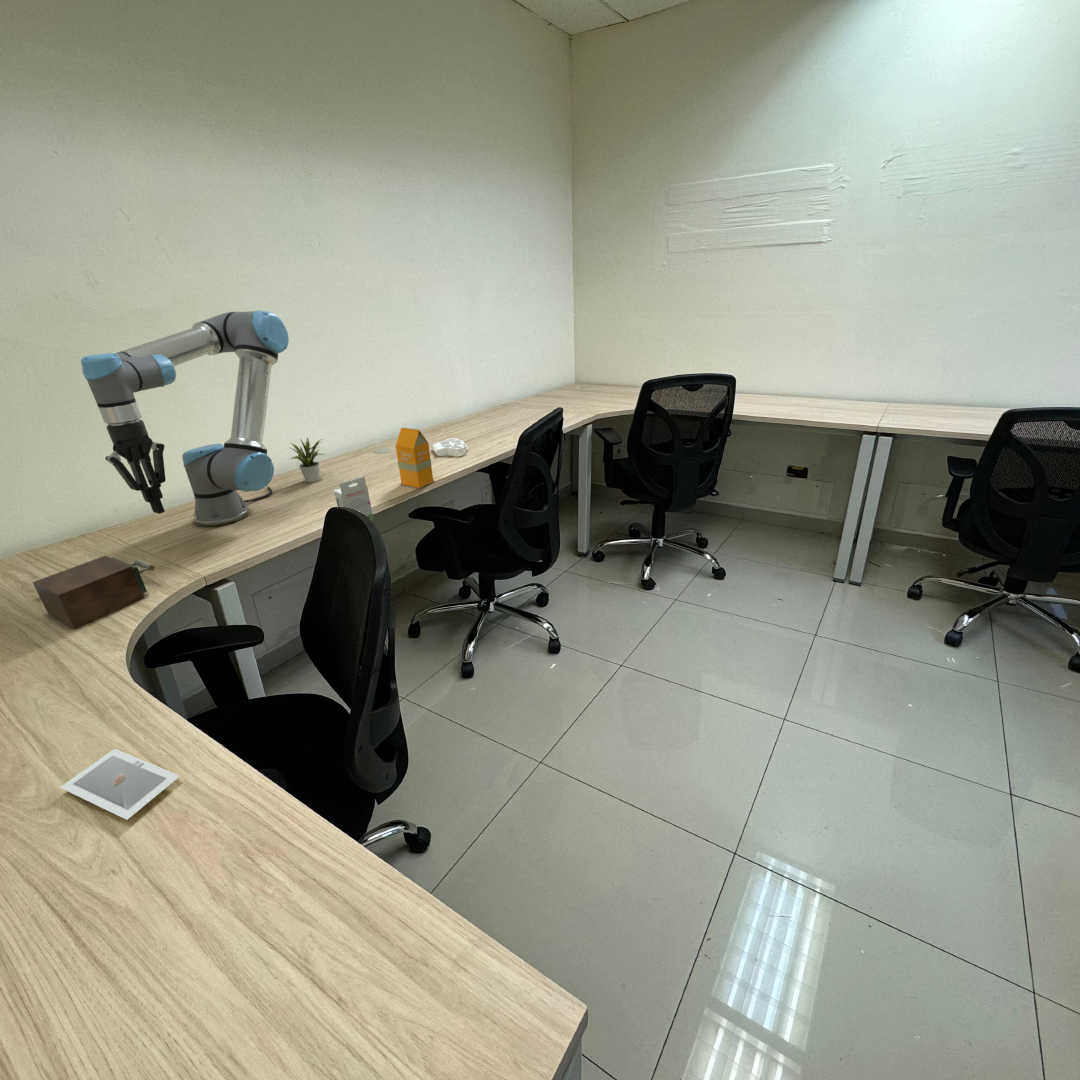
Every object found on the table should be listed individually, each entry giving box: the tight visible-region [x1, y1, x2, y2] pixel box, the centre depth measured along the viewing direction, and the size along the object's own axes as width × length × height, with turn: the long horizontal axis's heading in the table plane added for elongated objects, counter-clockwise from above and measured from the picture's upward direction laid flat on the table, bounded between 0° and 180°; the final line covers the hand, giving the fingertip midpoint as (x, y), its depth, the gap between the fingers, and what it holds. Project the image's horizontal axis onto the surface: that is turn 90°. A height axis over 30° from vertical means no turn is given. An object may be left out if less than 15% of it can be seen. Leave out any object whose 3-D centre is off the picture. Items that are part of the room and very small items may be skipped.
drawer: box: [111, 557, 156, 594], centre depth 130 cm, size 18×11×7 cm, turn 150°
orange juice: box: [395, 427, 434, 489], centre depth 197 cm, size 8×9×20 cm
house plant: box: [288, 437, 326, 484], centre depth 204 cm, size 14×14×16 cm
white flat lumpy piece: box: [431, 437, 470, 458], centre depth 236 cm, size 3×18×15 cm
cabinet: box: [32, 555, 145, 630], centre depth 127 cm, size 15×13×9 cm
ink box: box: [333, 476, 375, 523], centre depth 165 cm, size 9×5×15 cm, turn 134°
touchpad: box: [59, 748, 181, 821], centre depth 81 cm, size 8×15×2 cm, turn 67°
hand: (159, 511), depth 143 cm, fingers closed
